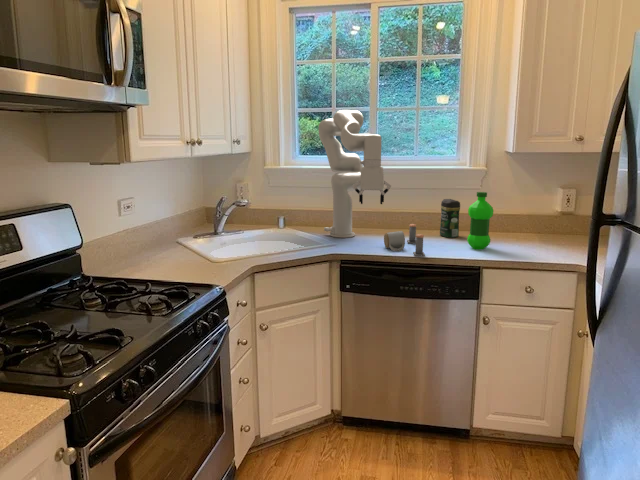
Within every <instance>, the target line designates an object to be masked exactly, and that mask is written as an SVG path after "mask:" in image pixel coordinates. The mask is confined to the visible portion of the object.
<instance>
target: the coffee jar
mask: <svg viewBox="0 0 640 480" xmlns="http://www.w3.org/2000/svg"><path fill="white" fill-rule="evenodd" d="M440 211H441V213H440V227H439V236H442V237H444V238H451V239H453V238H454V239H456V238H458V237H459V235H460V234H459V233H460V229H459V228H460V226H459V225H460V211H461V202H460V201H459V200H456V199H453V198H443V200H441V204H440Z"/></svg>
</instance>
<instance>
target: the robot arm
mask: <svg viewBox="0 0 640 480" xmlns="http://www.w3.org/2000/svg"><path fill="white" fill-rule="evenodd" d="M363 124H364V116H363V114H362V112H360V111H359V110H356V109H355V110H353V109H352V110H350V109H342V110H341V109H340V110H338V111H336V112H335V113H334V115H333V116H332V118H326V119H323V120H321V121H320V122H319V124H318V137H319V140H320V142H321V143H322V145H323V147H324V150H325V152H326V156H327V160H328V164H329V167H330V170H331V171H332V172H334V174H333V175H332V176H331V180H330V183H331V189H332V210H333V211H332V226H330V227H329V226H326V227H324V229H323V231H324V232H328V233H329V232H330V233H329V236H331V237H333V238H339V239H340V238H342V239H343V238H346V239H348V238H353V237H355V236H356V233H355V232H354V231H353V199H352V197H351V195H350V194H349V192H356V193H357V194H358V195H359V200H358V201H359V203H360V205H363V203H364V202H363V197H364V195H363V193H364V191H380V196H379V197H380V200H379V203H380V205H383V203H384V201H385V196H386V194H387V193H388V192H389V190H390V188H391V187H392V185H391V184H390V183H388V182H387V181H386V180H385V179H384V178H385V177H384V175H385V174H384V168H383V166H382V136H381V135H380V134H373V133H360V131H361V127H362V126H363ZM336 137H340V141H339V140H338V139H337V138H336ZM343 147H344V148H345V149H346V150H347V151H349V152H345V151H344V150H343ZM355 152H363V160H361V158H360V156H359V155H358V154H357V153H355ZM384 186H386V188H385V189H384Z"/></svg>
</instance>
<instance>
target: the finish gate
mask: <svg viewBox="0 0 640 480" xmlns="http://www.w3.org/2000/svg"><path fill="white" fill-rule="evenodd" d="M408 235H409V237H408V239H406V242H407V244H408V245H409V244H414V245H415V251H413V252H412V255H413V254H414V255H413V256H414V257H425V256H426V254H425V252H424V234H417V224H416V223H415V224H414V223H410V224H409V234H408Z"/></svg>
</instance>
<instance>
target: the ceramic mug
mask: <svg viewBox="0 0 640 480" xmlns="http://www.w3.org/2000/svg"><path fill="white" fill-rule="evenodd" d="M383 244H384V247H385V248H386V249H389V250H391V251H393V252H401V251H403V249H404V248H405V245H406V237H405V234H404V231H402V230H399V231H391V232H386V233H384V235H383Z"/></svg>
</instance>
